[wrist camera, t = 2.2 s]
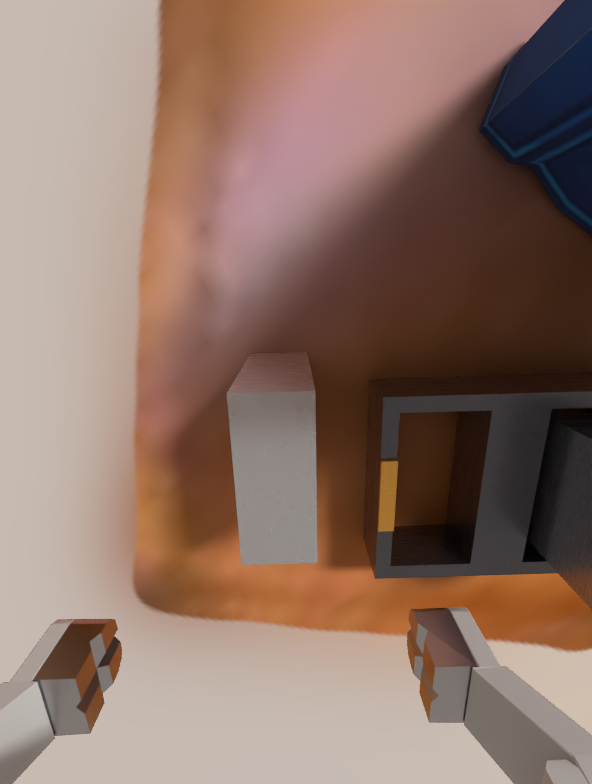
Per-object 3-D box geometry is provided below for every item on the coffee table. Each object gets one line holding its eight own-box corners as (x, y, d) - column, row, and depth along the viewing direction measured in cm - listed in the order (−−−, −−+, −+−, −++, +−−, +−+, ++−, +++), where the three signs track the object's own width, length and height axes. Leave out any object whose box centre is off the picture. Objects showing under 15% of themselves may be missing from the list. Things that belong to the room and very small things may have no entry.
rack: (369, 379, 24) (411, 432, 16) (606, 372, 24) (779, 421, 16) (363, 541, 28) (394, 654, 20) (568, 535, 28) (690, 646, 20)
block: (250, 353, 24) (226, 393, 15) (307, 352, 24) (315, 390, 15) (258, 473, 26) (241, 564, 18) (309, 471, 26) (317, 562, 18)
